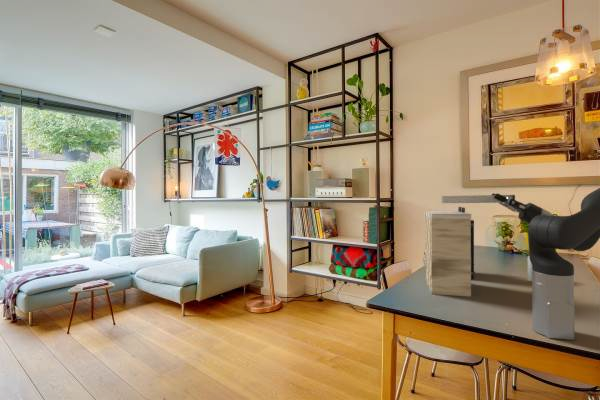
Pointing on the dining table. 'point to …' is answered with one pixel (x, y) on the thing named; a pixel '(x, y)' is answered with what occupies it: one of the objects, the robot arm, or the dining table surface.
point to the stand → (448, 252)
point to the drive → (473, 199)
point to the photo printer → (529, 269)
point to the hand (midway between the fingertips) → (493, 195)
